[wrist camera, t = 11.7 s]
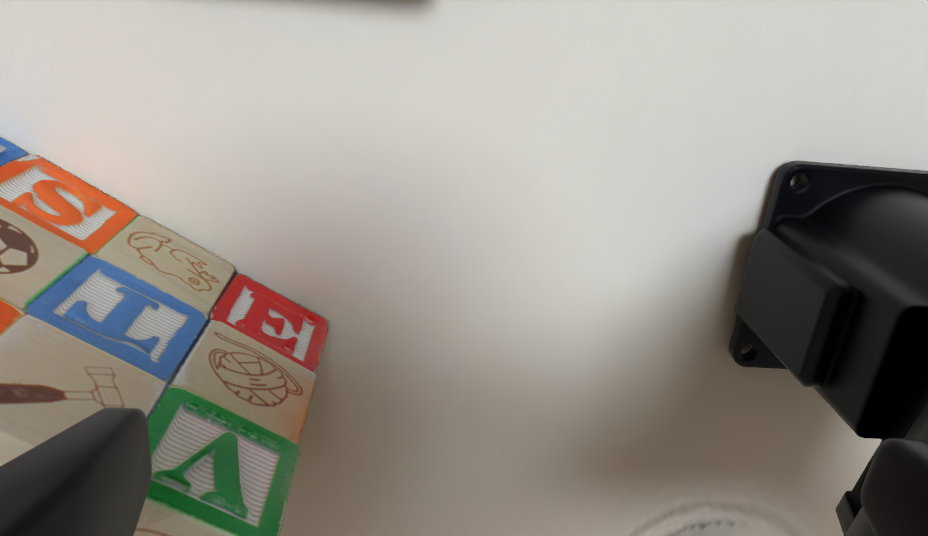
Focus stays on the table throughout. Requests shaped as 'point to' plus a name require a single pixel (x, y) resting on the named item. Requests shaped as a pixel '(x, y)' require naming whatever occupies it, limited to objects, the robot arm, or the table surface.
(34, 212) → the stack of blocks
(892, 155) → the table surface
